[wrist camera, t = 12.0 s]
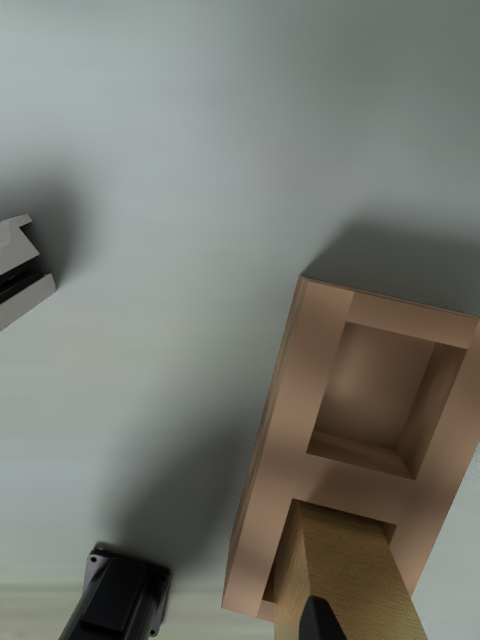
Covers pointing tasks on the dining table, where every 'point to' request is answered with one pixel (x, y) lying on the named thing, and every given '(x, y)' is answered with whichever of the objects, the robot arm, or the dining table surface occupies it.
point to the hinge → (12, 258)
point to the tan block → (340, 575)
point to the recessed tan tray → (359, 428)
